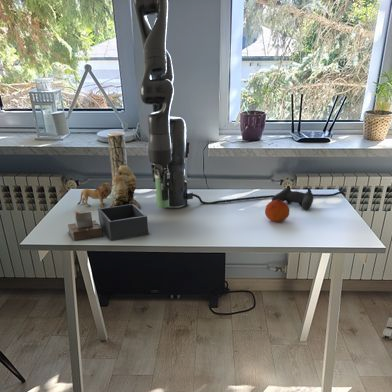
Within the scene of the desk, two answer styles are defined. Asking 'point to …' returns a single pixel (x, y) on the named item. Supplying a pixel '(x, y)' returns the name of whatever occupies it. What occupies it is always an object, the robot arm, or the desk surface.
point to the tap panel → (85, 231)
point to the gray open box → (123, 221)
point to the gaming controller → (295, 197)
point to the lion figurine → (96, 194)
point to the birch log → (117, 151)
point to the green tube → (160, 194)
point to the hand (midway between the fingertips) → (162, 197)
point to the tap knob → (83, 218)
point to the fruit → (277, 211)
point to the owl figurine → (124, 187)
